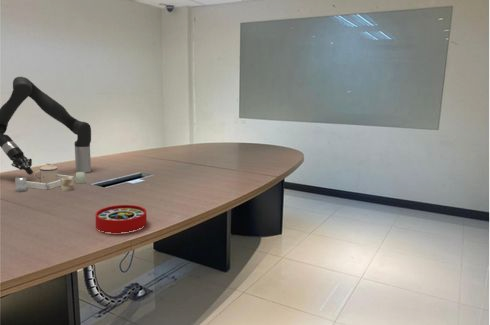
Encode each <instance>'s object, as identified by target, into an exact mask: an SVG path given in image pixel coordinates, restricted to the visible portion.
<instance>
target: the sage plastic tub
mask: <svg viewBox="0 0 490 325" xmlns="http://www.w3.org/2000/svg"><path fill="white" fill-rule="evenodd" d="M85 183H86V173H85V172H76V171H75V184H77V185H79V184H80V185H81V184H85Z"/></svg>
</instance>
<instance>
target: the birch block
mask: <svg viewBox="0 0 490 325" xmlns="http://www.w3.org/2000/svg"><path fill="white" fill-rule="evenodd" d="M60 180H61V186H60V190H62V191H63V192H68V191H73V190H74V182H73V179H72V178H61V179H60Z"/></svg>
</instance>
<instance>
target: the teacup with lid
mask: <svg viewBox="0 0 490 325" xmlns="http://www.w3.org/2000/svg"><path fill="white" fill-rule="evenodd" d="M58 169H59V168H58V166H56V165H53V164H51V163H50V162H48V163H46V164H45V165H44V166H41V167H40V168H39V170H37V171H35V172H34V175H33V176H34V178H35V179H36V180H39V181H40V183H46V184H47V183H51V182H54V181H58ZM38 173H40V177H38V176H37V174H38Z"/></svg>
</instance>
